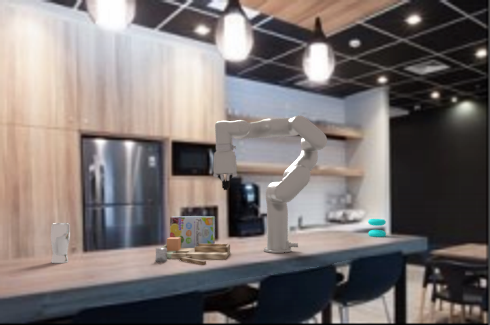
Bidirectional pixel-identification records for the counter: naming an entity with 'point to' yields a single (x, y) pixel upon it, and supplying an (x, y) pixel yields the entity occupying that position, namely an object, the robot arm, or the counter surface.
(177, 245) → the cube
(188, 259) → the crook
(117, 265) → the counter surface
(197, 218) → the snack box
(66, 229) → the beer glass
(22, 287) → the counter surface
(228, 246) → the wooden tray
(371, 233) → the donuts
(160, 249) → the can
